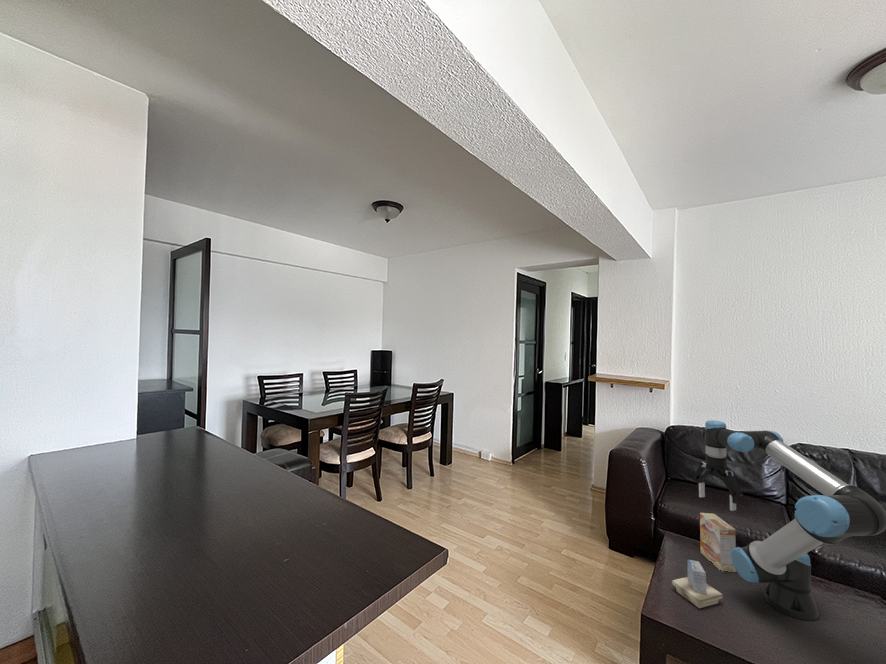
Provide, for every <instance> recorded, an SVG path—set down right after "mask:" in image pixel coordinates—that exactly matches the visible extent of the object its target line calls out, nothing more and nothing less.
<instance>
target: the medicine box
mask: <svg viewBox="0 0 886 664" xmlns="http://www.w3.org/2000/svg"><path fill="white" fill-rule="evenodd" d="M686 563H687V565H686V566H687V567H686V569H687V577H688V581H689V583H690V585H691V587H692V589H693V591H694V592H696V593H701V594H707V592H706V584H707V574H706V571H705V570H704V568H703V566H702V565H701V562H700V561H698V560H692V559H687V562H686Z"/></svg>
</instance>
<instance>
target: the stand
mask: <svg viewBox="0 0 886 664" xmlns="http://www.w3.org/2000/svg"><path fill="white" fill-rule="evenodd" d="M671 585H673V586H674V587H675V589H676V590H675V591H676V593H678V594H679V595H681V596H682V597H683V598H684V599H686V600H687V601H688V602H690V603H692V604H693V605H695V607H697V608H698V609H703V608H706V607H710V606H713V605H717V604H719V600H721V599H723V593H722V592H720V591H718V590H717V589H716V588H713V586H711V585H709V584H708V583H706V592H707V594H701V593H696V592H694V591H693V589H692V587H691V585H690V583H689V581H688V576H686V577H681V578H676V579H672V580H671Z"/></svg>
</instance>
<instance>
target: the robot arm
mask: <svg viewBox="0 0 886 664" xmlns="http://www.w3.org/2000/svg"><path fill="white" fill-rule="evenodd" d="M704 436H705V461H700V462H699V463H698V464H699V465H698V467H697V469H696V471H695V472H694V475H693V477H692V479H693V480H695V481H696V482H697V485H696V486H697V487H696V488H697V489H698V497H699V498H706V492H705V491H706V489H705V488H706V487H705V486H706V484H705V483H706V482H705V480H707V479H708V478H709V477H710V476H712V477H716V478H718V479H720V481H722V482H723V483H724V486H725V487H726V488H727V490H728V491H729V492H730V494H729V510H730V511H731V512H733V511H737V504H738V503H739V497H742V496H744V493H743V491H742V489H741V487H740V485H739V482H738V480H737V479H736V475H735V472H734V471H733V470H727V466H728V465H727V464H728V461H727V460H728V458H727V448H729V449H731V450H734V451H737V452H741V453H748V452H750V451H752V450H761V451H763V452H764V453H765V454H767V455H768V456H769V457H771V458H772V459H774V460H775V461H776V462H777V463H779V464H781V465H782V466H783V467H785V468H786V469H787V470H789V471H790V472H792V473H793V474H794V475H796V476H797V477H799V478H800V479H801V480H802V481H804V482H805V483H806V484H808V485H810V487H812V488H813V489H815V490H816V491H817V492H819V493H820V494H811V495H806V496H803V497H800V498H799V499H798V500H797V501H796V503H795V505H794V508H795V509H796V510H794V518H793V519H792V520H791V521H789V522H788V523H787V524H785V525H784V526H782V527H781V528H780V529H778V530H777V531H775V532H774V533H773V534H770V536H768V537H767V538H766V539H764V540H754V541H751V542H750V543H748V544H747V545H746V546H743V547H740V546H736V548H733V549H732V551H731V559H732V563H733V565H734V567H735V569H736V573H737V574H738V575H739V576H740V578H742V580H744V581H746V582H748V583H754V584H762V583H767V585H766V587H765V588H764V589H765V590H764V599H765V601H766V602H767V603H768V604H769V605H770V606H771V607H772V608H774V609H775V610H777V611H778V612H779V611H780V612H781V613H783V614H785V615H787V616H789V617H792V618H795V619H799V620H803V621H808V622H809V621H816V620H818V619H819V608H818V606H817V604H816V601H815V599H814V596H813V594H812V564H811V558H810V555H809V554H808V553H809V552H811V551H813V550H814V549H816V548H818V547H820V546H822V545H823V544H824V545H833V546H834V545H836V544H838V543H840V542H842V541H844V540H845V539H847V538H851V537H865V536H866V537H869V536H872V537H873V536H877V535H880V534H881V533H883V532H884V531H885V530H886V511H885V509H884V507H883V506H882V505H881V504H880V502H878V501H877V500H876V499H875V498H874V497H873V496H872V495H870V494H869V493H867V492H865V491H864V490H862V489H861V488H860V487H858V486H856V484H848V483H847V482H845V481H843V480H842V479H840V478H838V476H836V475H834V474H832V473H831V472H829V470H826V469H825V468H823V467H822V466H820V465H819V464H817V463H816V462H814V461H813V460H811V459H810V458H808V457H807V456H805V455H803V454H802V453H800V452H799V451H797V450H795V448H792V447H791V446H789V445H788V444H786V442H784V439H783V437H781V435H780V434H779V433H778V432H776V431H773V430H732V429H728V428H727V424H726V422H723V421H720V420H712V419H711V420H706V421H705V425H704ZM705 469H706V471H705ZM704 471H705V472H704ZM821 494H822V495H821Z"/></svg>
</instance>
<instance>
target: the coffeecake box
mask: <svg viewBox="0 0 886 664" xmlns="http://www.w3.org/2000/svg"><path fill="white" fill-rule="evenodd" d="M699 530H700V531H699V532H700V534H699V535H700V537H699V540H700V543H699V544H700V547H699V548H700V554H702V556H704V557H705V558H706V559H707V560H708V561H709V562H710V561H711V562H712V563H713V566H715V567H716V568H717V570H719V571H720V570H721V571H720V572H724V571H728V572H730V573H737V571H736V569H735V567H734V565H733V563H732V559H731V551H732V549H733V548H737V543H736V528H734V527H733V526H732V525H730V524H729V523H727V522H726V521H724V520H723V519H722V518H721V517H719V516H718V515H717V514H716V513H709V512H708V513H706V512H699ZM711 562H710V563H711ZM712 563H711V564H712Z"/></svg>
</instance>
